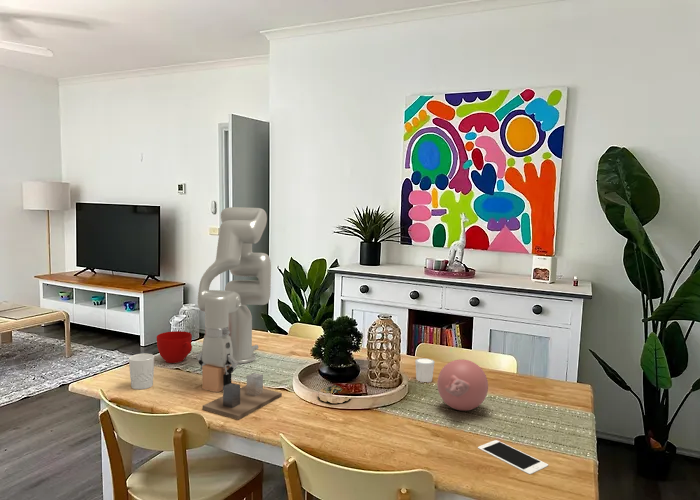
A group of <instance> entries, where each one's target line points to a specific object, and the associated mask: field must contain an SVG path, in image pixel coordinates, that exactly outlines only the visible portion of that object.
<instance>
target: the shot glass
mask: <svg viewBox="0 0 700 500" xmlns="http://www.w3.org/2000/svg"><path fill="white" fill-rule="evenodd" d="M414 363H415V377H416V378H415V379H416V381H417V380H418V382H419V381H420V383H424V382H427V383H431V382H432V381H433V376H434V375H433V374H434V368H435V360H434V359H430V358H425V357H424V358H417V359H415V362H414Z"/></svg>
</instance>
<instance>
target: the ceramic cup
mask: <svg viewBox="0 0 700 500" xmlns="http://www.w3.org/2000/svg"><path fill="white" fill-rule="evenodd" d="M192 338H193V334H192V333H191V332H189V331H183V330H182V331H181V330H179V331H178V330H177V331H175V330H174V331H165V332H161V333H159V334H158V335H156V345H157V350H158V353H159V355H160V357H161V358H162V359H163V360H164V361H165V362H166V363H169V364H176V363H181V362H184V360H185V359H186V357H187V356H188V355H190V354H191V352H192V349H193V345H192Z"/></svg>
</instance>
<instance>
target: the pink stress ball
mask: <svg viewBox="0 0 700 500" xmlns="http://www.w3.org/2000/svg"><path fill="white" fill-rule="evenodd" d="M488 381H489V380H488V377H487V375H486V372H485V371H484V370H483V369H482V367H480V366H479V364H477V363H475V362H474V361H471V360H469V359H465V358H464V359H462V358H460V359H459V358H458V359H455V360H452V361H449V362H448V363H446V364H445V365H444V366H443V367H442V369H441V370H440V371H439V374H438V376H437V382H436V383H437V384H436V385H437V391H438V394H439V395H440V398H441V399H442V401H443V402H444V403H445V404H446V405H447V406H449V407H450V408H452V409H454V410H457V411H461V412H462V411H463V412H464V411H471V410H474V409H476V408H478V407H479V406H481V405H482V403H484V401H485V399H486V398H487V394H488V393H489V391H488V390H489V382H488Z"/></svg>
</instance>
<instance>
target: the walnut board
mask: <svg viewBox="0 0 700 500" xmlns="http://www.w3.org/2000/svg"><path fill="white" fill-rule="evenodd" d="M282 394H283V393H282V392H280V391H276V390H275V391H274V390H271V389H268V388H263V393H261V394H259V395H257V396H252V395H248V394H247V384H246V385H244V386H242V387H240V405H238V406H236V407H234V408H230V407H226V406H223V395H222V396H220V397H218V398H216V399H214V400H212V401H210V402H209V401H208V402H207V403H205V404H203V405H202V407H201V408H202V410H203V411H206V412H210V413H213V414H217V415H220V416H223V417H224V416H225V417H228V418H231V419H235V420H237V421H239V420H241V419H242V418H245V417H246V416H248V415H250V414H252V413H254V412H256V411H258V410H260V409H261V408H263V407H265V406H267V405H268V404H270V403H272V402H274V401H276V400H278V399H280V398H282Z"/></svg>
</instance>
